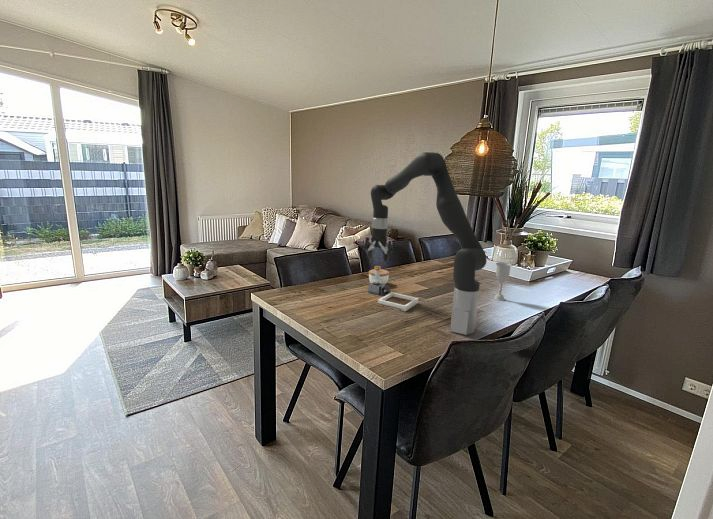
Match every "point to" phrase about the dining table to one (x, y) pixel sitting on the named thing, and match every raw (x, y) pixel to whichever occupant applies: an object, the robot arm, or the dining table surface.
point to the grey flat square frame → (402, 307)
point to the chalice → (502, 277)
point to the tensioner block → (379, 289)
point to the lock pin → (377, 274)
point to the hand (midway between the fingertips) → (378, 259)
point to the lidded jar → (383, 276)
